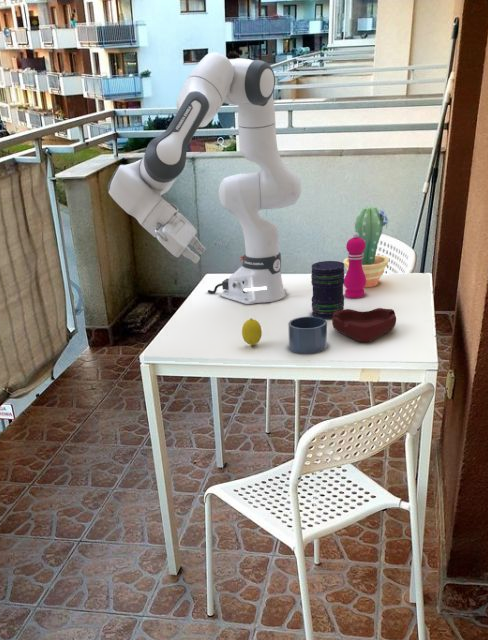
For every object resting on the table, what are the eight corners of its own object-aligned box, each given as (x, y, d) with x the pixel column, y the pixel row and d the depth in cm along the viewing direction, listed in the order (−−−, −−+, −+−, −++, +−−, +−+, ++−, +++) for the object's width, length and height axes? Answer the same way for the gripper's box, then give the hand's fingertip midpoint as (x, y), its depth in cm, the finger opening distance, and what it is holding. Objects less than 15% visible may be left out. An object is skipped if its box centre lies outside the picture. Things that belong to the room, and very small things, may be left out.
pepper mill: (369, 293, 229) (371, 230, 218) (360, 299, 224) (362, 235, 213) (348, 291, 232) (350, 229, 222) (339, 297, 227) (340, 234, 217)
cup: (281, 349, 191) (281, 325, 188) (303, 338, 198) (303, 314, 194) (312, 356, 185) (311, 331, 182) (333, 344, 191) (333, 320, 188)
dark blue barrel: (343, 308, 217) (344, 260, 210) (344, 318, 209) (345, 268, 201) (311, 309, 219) (311, 261, 211) (311, 319, 210) (310, 270, 203)
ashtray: (332, 345, 191) (332, 328, 188) (332, 325, 205) (332, 309, 202) (398, 343, 188) (399, 326, 186) (394, 323, 202) (394, 307, 199)
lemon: (260, 349, 193) (259, 321, 188) (241, 349, 194) (239, 321, 190) (263, 342, 197) (262, 315, 193) (244, 342, 198) (242, 315, 194)
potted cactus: (379, 291, 229) (383, 212, 216) (335, 288, 236) (336, 211, 223) (394, 279, 240) (398, 202, 227) (351, 276, 247) (353, 201, 234)
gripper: (160, 218, 170) (202, 257, 174) (175, 203, 188) (214, 238, 191) (144, 238, 173) (187, 276, 177) (161, 221, 191) (199, 255, 194)
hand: (201, 256), depth 184 cm, fingers open, 8 cm apart
